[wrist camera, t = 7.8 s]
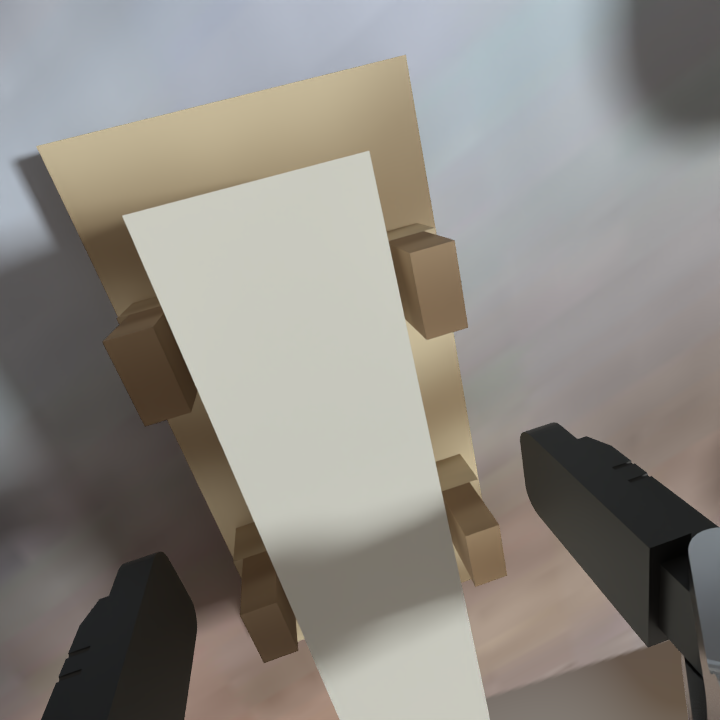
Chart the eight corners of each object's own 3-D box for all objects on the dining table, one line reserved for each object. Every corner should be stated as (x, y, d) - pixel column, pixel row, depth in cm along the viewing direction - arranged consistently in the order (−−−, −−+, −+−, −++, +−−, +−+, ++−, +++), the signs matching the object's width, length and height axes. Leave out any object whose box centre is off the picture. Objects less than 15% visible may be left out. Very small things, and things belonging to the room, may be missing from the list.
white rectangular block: (184, 200, 10) (122, 216, 6) (322, 163, 11) (369, 150, 6) (341, 620, 16) (374, 800, 11) (429, 589, 16) (496, 751, 11)
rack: (54, 148, 12) (-61, 130, 7) (395, 64, 12) (461, 5, 8) (275, 625, 19) (279, 752, 15) (483, 552, 19) (542, 652, 15)
